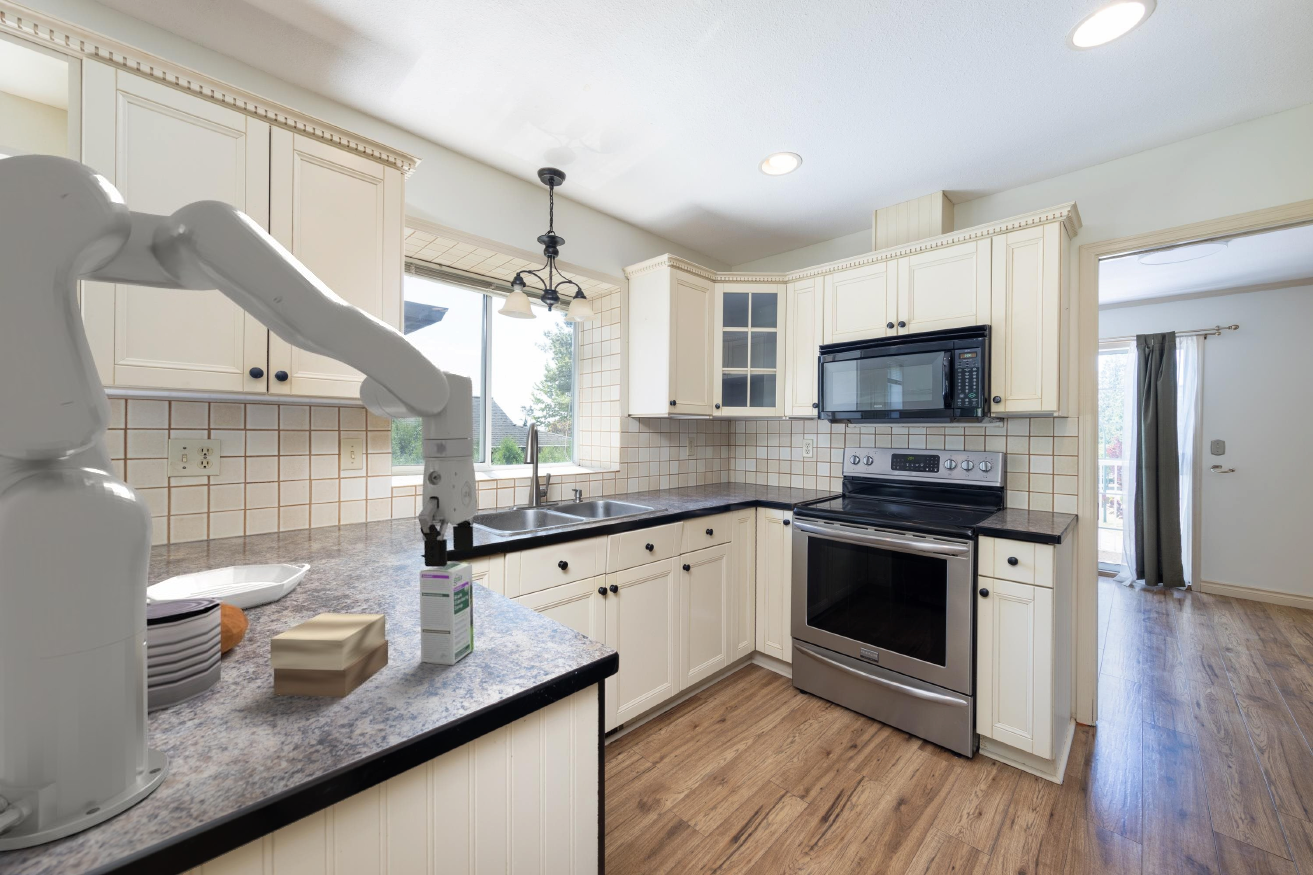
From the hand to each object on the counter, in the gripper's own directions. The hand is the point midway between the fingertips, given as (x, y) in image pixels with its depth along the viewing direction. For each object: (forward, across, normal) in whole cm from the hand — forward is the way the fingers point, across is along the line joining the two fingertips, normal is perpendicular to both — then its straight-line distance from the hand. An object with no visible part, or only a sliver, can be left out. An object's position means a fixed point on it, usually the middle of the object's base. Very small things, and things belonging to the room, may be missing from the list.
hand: (450, 557), depth 82 cm
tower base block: (+16, -9, +14) cm, 22 cm away
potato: (+15, -2, +38) cm, 42 cm away
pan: (+16, +24, +60) cm, 66 cm away
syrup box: (+16, -1, 0) cm, 16 cm away
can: (+15, -14, +34) cm, 39 cm away
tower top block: (+12, -9, +14) cm, 20 cm away
